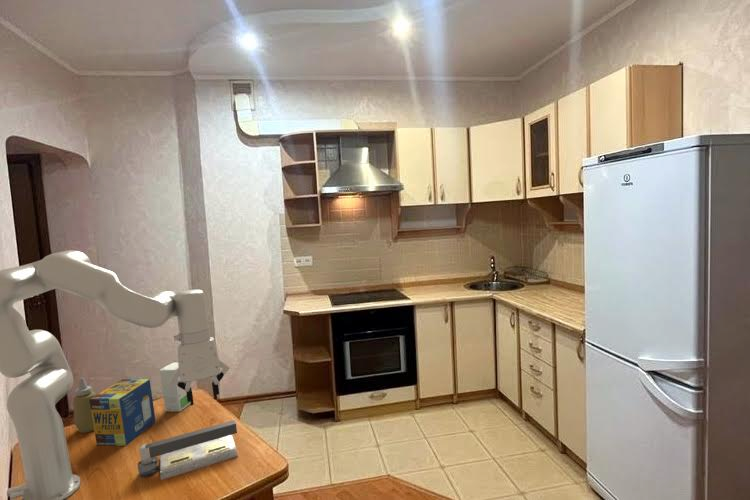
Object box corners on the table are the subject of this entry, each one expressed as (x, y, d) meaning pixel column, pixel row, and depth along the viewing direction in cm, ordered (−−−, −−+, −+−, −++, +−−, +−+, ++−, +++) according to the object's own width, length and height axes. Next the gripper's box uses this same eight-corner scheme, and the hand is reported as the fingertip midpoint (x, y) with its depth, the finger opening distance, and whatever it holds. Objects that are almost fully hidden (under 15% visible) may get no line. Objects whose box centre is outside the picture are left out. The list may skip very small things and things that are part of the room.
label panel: (161, 480, 119) (160, 474, 119) (161, 457, 130) (160, 453, 130) (237, 456, 128) (237, 451, 127) (231, 437, 138) (231, 432, 138)
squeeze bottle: (78, 427, 153) (69, 377, 151) (105, 420, 157) (97, 371, 154) (73, 437, 146) (64, 385, 144) (102, 430, 149) (93, 379, 147)
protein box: (95, 446, 140) (88, 399, 138) (129, 421, 155) (122, 378, 153) (126, 446, 138) (118, 398, 136) (156, 421, 153) (150, 378, 151)
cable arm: (141, 465, 121) (138, 451, 120) (141, 460, 124) (139, 445, 123) (237, 437, 132) (236, 423, 131) (236, 433, 134) (234, 419, 134)
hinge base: (138, 479, 120) (137, 469, 120) (139, 470, 124) (137, 460, 124) (159, 473, 122) (157, 463, 122) (159, 464, 127) (157, 454, 126)
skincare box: (180, 412, 158) (174, 370, 156) (163, 411, 160) (157, 370, 158) (194, 401, 166) (188, 361, 164) (178, 401, 168) (172, 361, 166)
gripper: (160, 346, 112) (169, 414, 114) (230, 333, 119) (238, 397, 122) (160, 339, 119) (169, 403, 121) (226, 326, 126) (234, 387, 128)
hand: (203, 399), depth 121 cm, fingers open, 5 cm apart
